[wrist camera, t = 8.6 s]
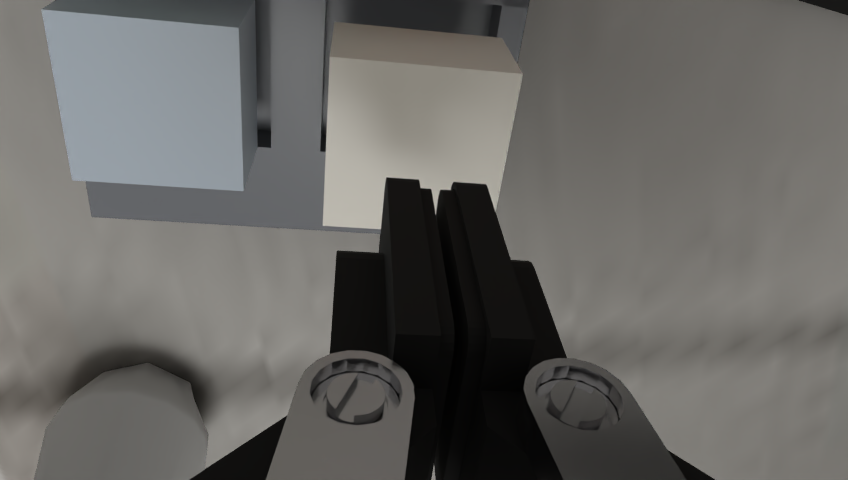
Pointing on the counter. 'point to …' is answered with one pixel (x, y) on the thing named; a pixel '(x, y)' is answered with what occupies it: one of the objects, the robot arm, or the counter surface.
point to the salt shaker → (126, 430)
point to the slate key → (156, 90)
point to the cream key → (413, 115)
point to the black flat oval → (831, 5)
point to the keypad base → (300, 111)
